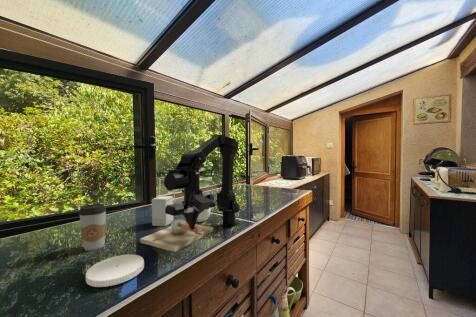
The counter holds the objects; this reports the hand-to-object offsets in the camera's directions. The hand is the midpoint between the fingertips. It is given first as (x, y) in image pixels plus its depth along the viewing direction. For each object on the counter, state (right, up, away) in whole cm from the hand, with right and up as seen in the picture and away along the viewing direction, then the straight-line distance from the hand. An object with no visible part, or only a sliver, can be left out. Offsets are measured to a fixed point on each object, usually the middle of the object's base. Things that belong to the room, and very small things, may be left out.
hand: (192, 229), depth 79 cm
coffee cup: (-35, -6, -1) cm, 36 cm away
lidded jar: (-2, -5, +29) cm, 29 cm away
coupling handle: (-3, -3, +5) cm, 7 cm away
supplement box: (-19, -5, +24) cm, 31 cm away
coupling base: (-7, -5, +7) cm, 11 cm away
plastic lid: (-17, -7, -19) cm, 26 cm away
